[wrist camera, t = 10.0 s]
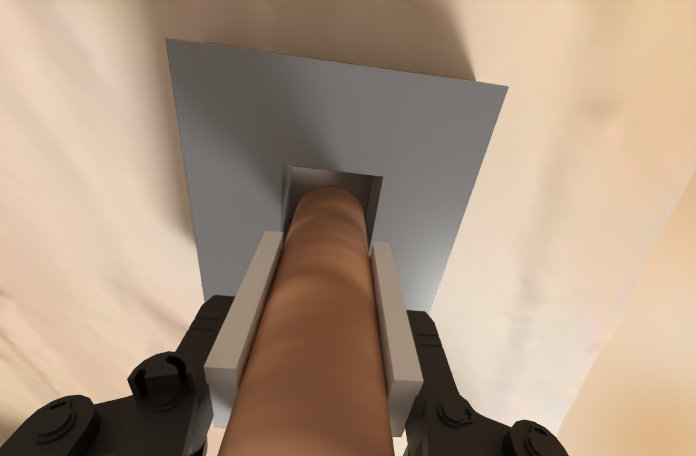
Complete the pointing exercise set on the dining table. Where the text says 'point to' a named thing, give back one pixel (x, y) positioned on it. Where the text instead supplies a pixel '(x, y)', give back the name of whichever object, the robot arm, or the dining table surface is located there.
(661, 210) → the dining table surface
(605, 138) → the dining table surface
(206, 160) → the socket block
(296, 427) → the peg
